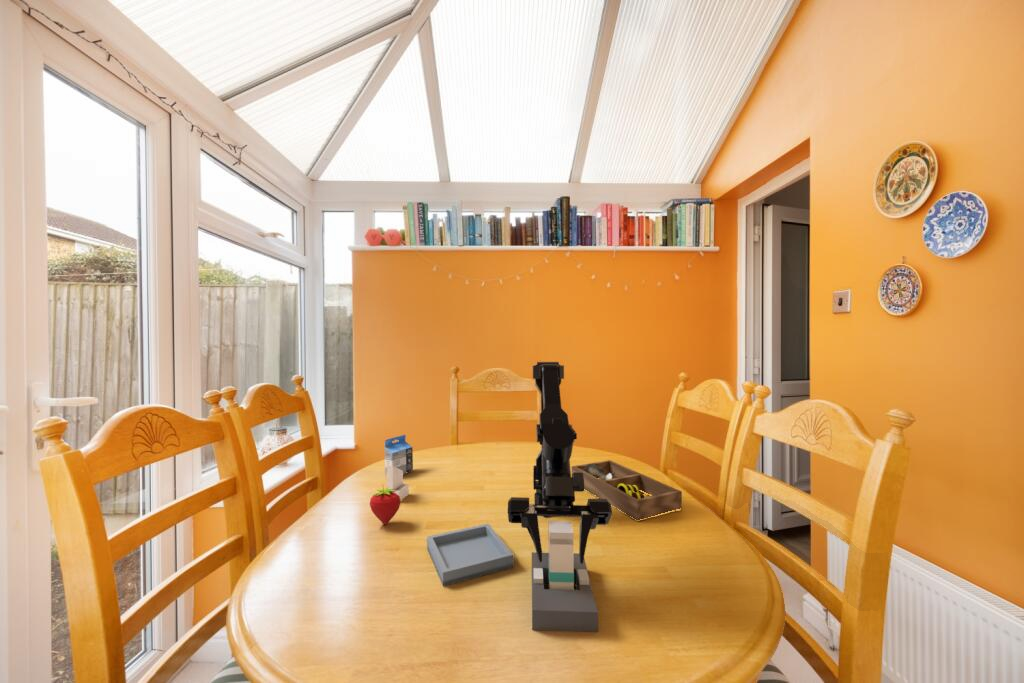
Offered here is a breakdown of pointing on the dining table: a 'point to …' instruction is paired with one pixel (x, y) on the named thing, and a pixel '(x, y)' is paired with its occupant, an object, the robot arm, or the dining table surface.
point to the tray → (468, 554)
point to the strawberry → (385, 504)
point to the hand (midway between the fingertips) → (561, 562)
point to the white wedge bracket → (397, 481)
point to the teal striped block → (561, 556)
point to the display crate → (639, 509)
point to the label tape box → (398, 454)
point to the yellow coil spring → (631, 490)
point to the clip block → (562, 600)
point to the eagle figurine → (598, 472)
